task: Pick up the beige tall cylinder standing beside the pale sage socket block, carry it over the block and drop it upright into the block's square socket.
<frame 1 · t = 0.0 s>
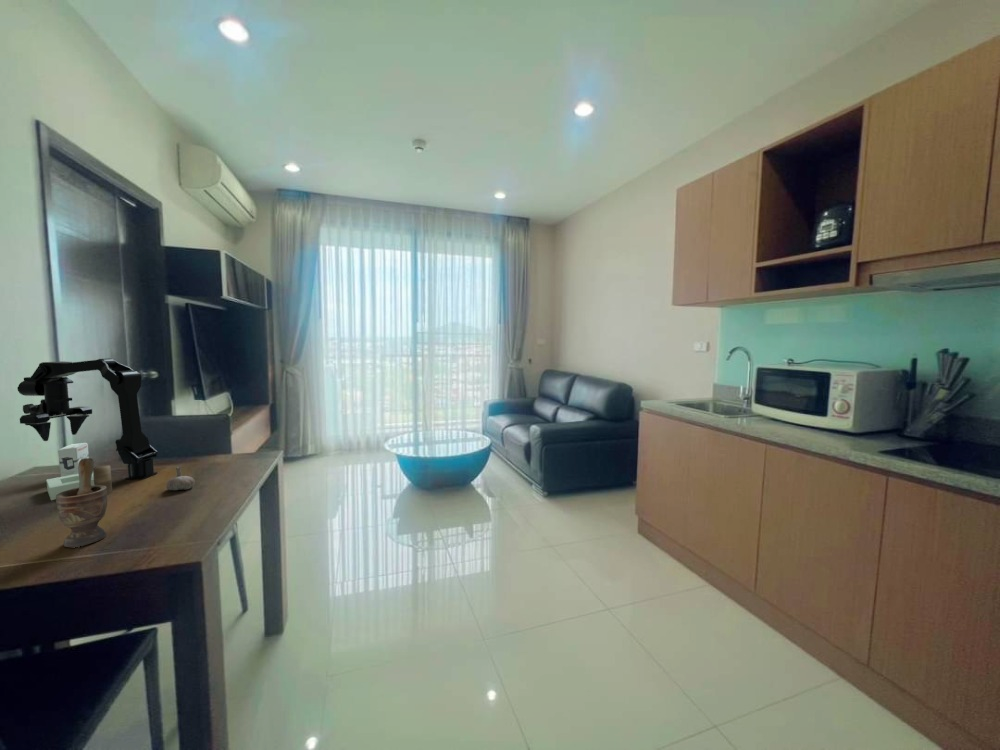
hand: (60, 437, 139), 15 cm above the table, fingers open, 9 cm apart
mortar and pestle: (84, 539, 97), on the table
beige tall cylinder: (103, 493, 125), on the table
socket block: (76, 489, 128), on the table
garlic bulb: (181, 489, 130), on the table
ink box: (76, 476, 141), on the table
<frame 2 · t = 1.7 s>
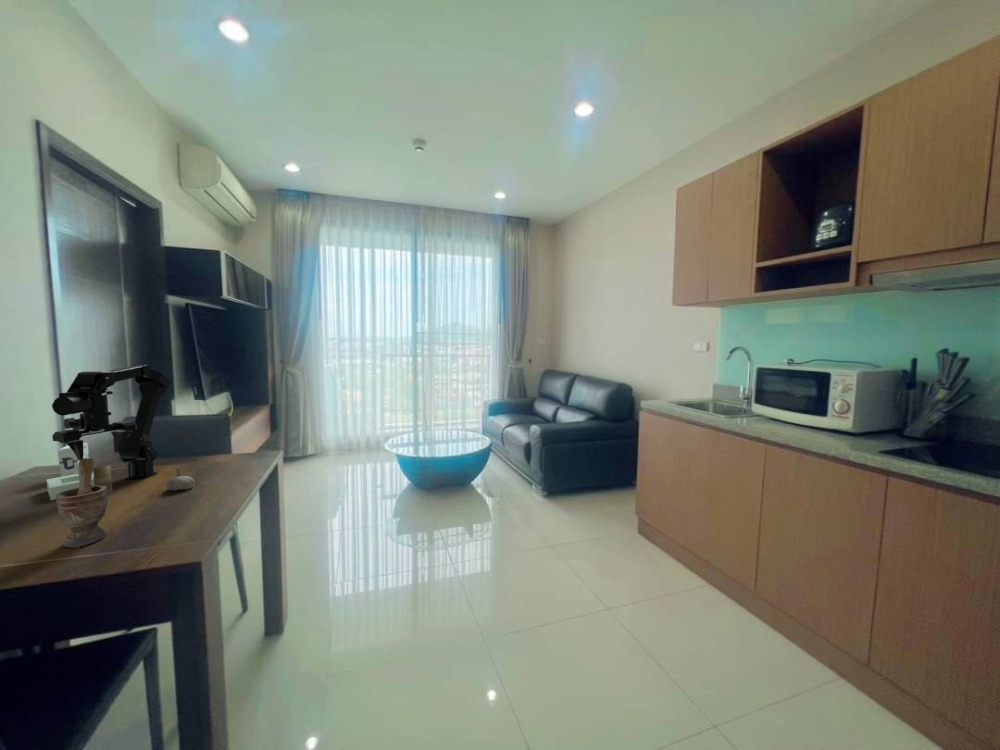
hand: (99, 456, 124), 13 cm above the table, fingers open, 9 cm apart
nothing on the table moved.
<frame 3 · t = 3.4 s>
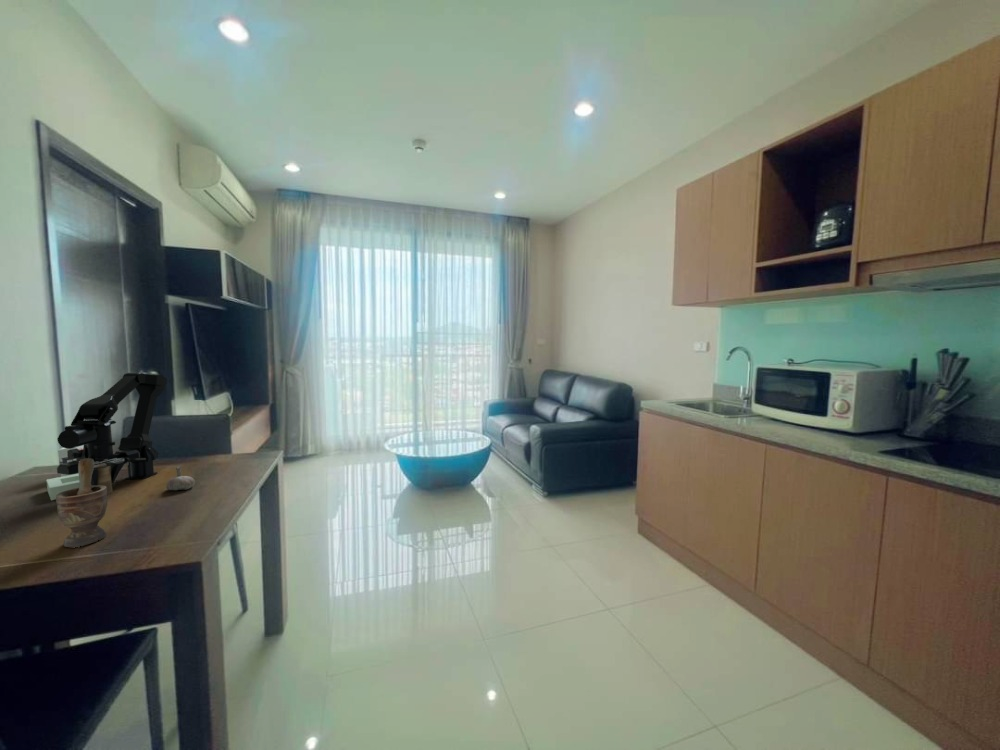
hand: (103, 486, 125), 3 cm above the table, fingers closed on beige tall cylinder, 4 cm apart
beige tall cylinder: (103, 493, 125), on the table, touching gripper
everything else where it was.
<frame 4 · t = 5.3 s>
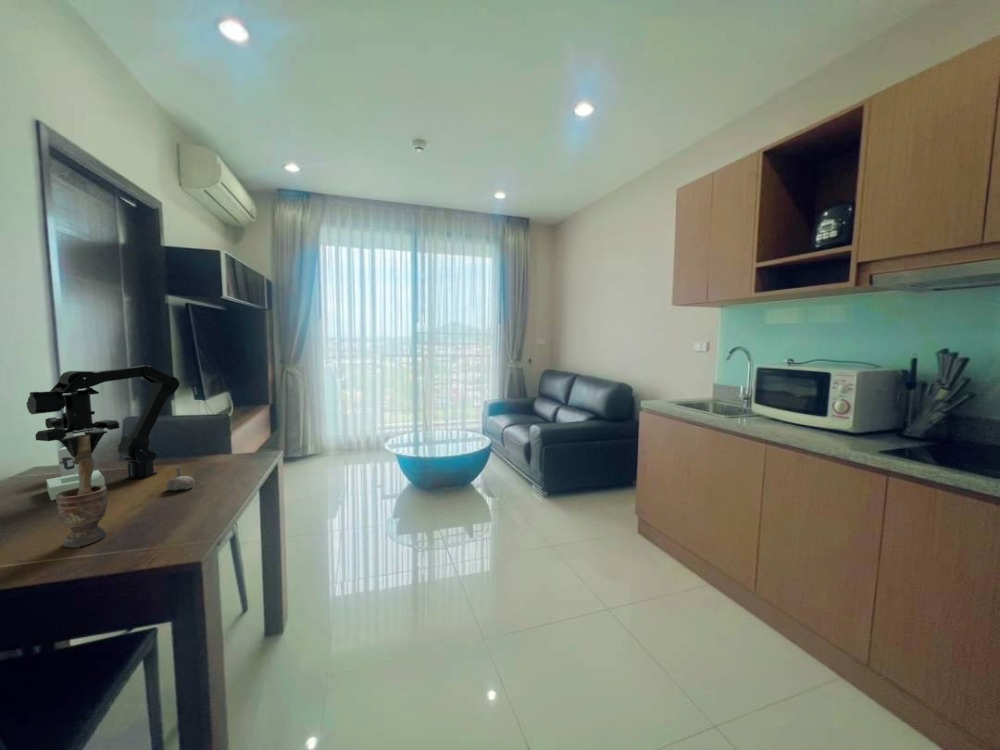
hand: (82, 455, 126), 13 cm above the table, fingers closed on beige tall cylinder, 4 cm apart
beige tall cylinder: (83, 462, 126), point 10 cm above the table, touching gripper
everything else where it was.
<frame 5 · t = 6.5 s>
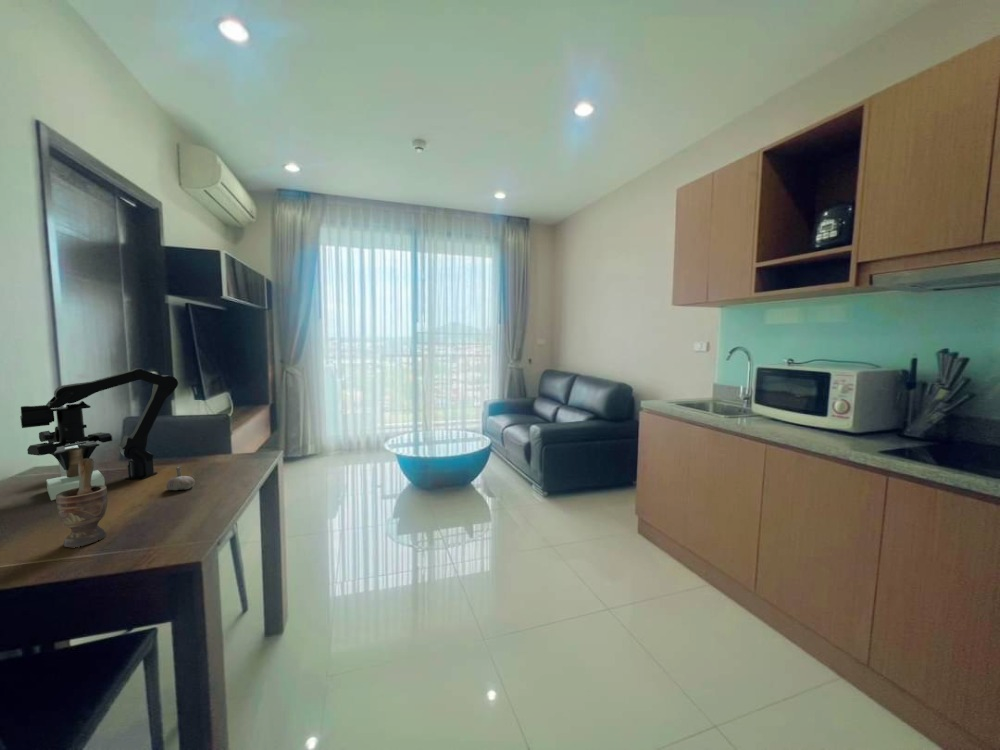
hand: (75, 468, 127), 8 cm above the table, fingers closed on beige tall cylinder, 4 cm apart
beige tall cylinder: (75, 475, 128), point 5 cm above the table, touching gripper
everything else where it was.
when the fingers open (5 cm above the table, at t = 7.3 s): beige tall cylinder drops 2 cm, resting in socket block.
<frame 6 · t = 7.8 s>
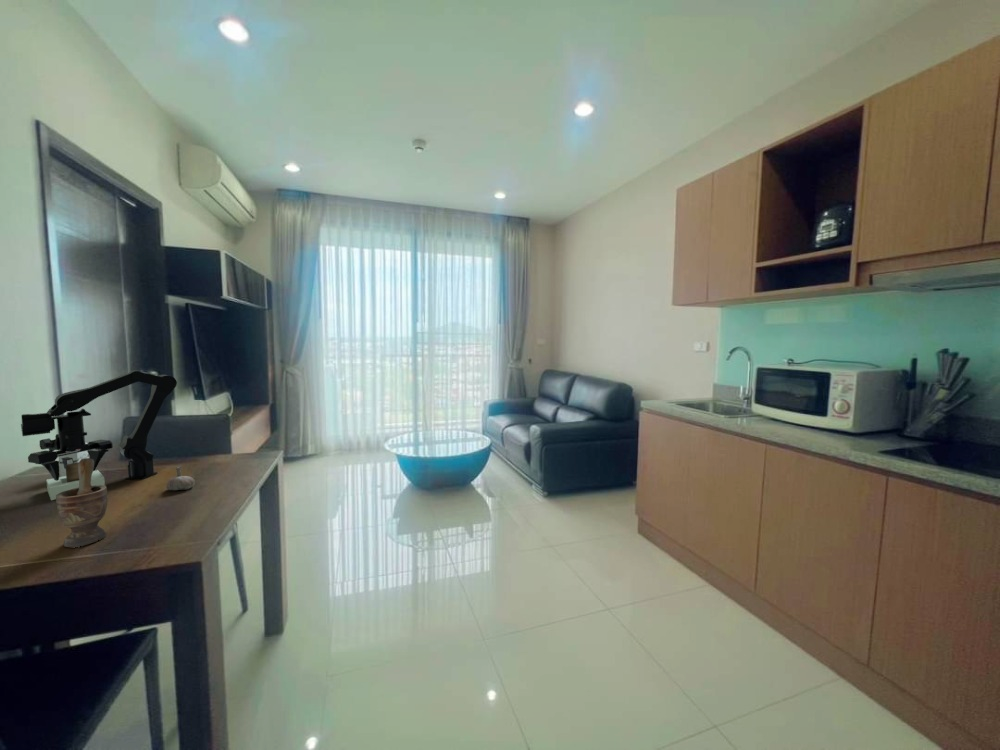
hand: (75, 475, 128), 5 cm above the table, fingers open, 9 cm apart
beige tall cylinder: (76, 489, 128), resting in socket block
everything else where it was.
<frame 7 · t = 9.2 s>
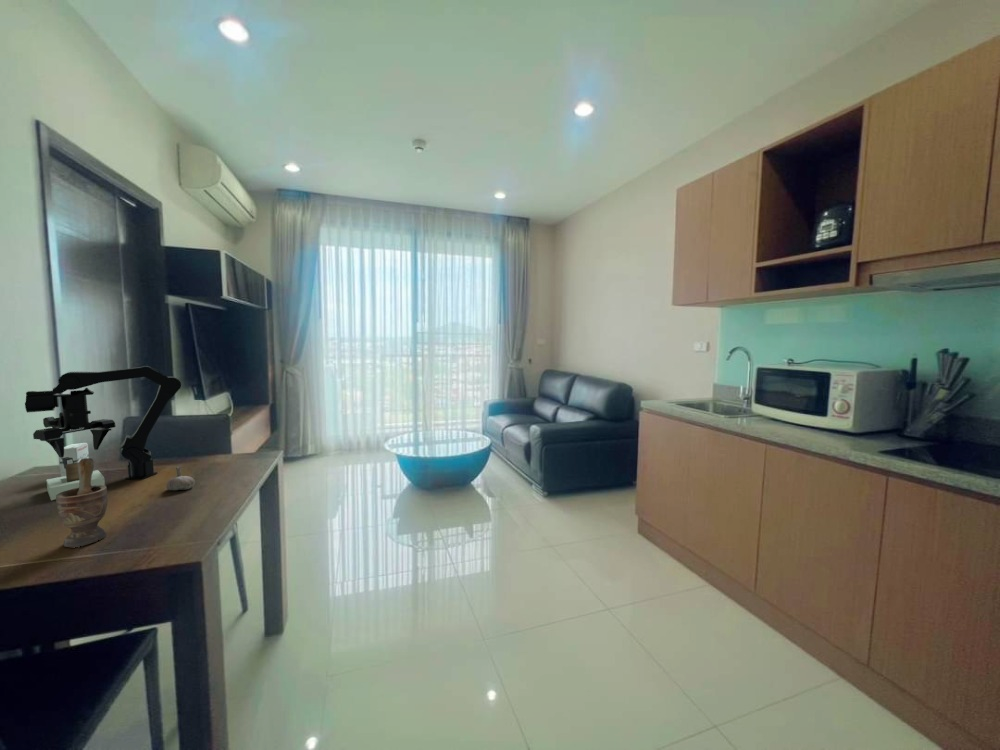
hand: (79, 453, 130), 12 cm above the table, fingers open, 9 cm apart
nothing on the table moved.
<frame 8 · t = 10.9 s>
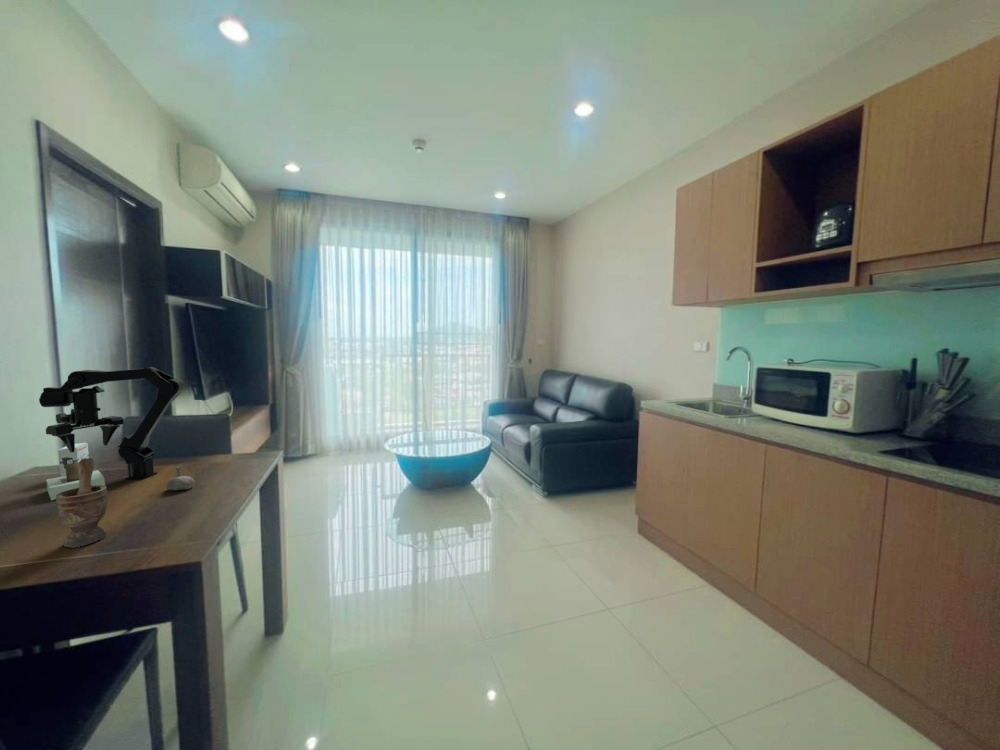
hand: (89, 448, 135), 12 cm above the table, fingers open, 9 cm apart
nothing on the table moved.
at the end: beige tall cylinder 0.0 cm off-centre on the socket block, point 0.0 cm above the socket block's base; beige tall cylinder tilted 0°; the gripper is holding nothing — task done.
